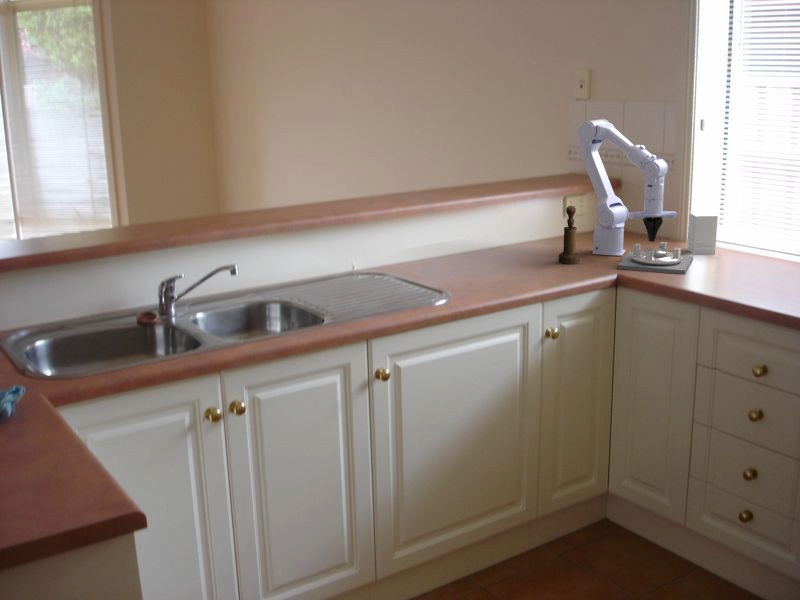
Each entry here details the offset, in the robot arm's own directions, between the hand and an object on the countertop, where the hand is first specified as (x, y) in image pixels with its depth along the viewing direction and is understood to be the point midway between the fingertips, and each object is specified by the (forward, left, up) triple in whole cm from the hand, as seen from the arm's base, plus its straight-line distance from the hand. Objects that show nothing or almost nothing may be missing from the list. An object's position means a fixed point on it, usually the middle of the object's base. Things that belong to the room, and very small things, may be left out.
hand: (651, 241), depth 299 cm
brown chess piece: (-23, -12, -6) cm, 27 cm away
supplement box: (+14, +17, -6) cm, 23 cm away
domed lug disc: (+3, -6, -5) cm, 8 cm away
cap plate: (+3, -6, -6) cm, 9 cm away
